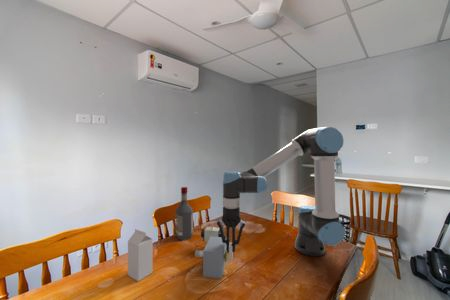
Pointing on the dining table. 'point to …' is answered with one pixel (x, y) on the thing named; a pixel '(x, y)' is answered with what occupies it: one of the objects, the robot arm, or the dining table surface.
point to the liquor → (184, 218)
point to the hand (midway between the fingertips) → (230, 258)
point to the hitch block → (214, 258)
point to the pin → (200, 252)
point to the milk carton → (140, 255)
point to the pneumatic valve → (210, 233)
